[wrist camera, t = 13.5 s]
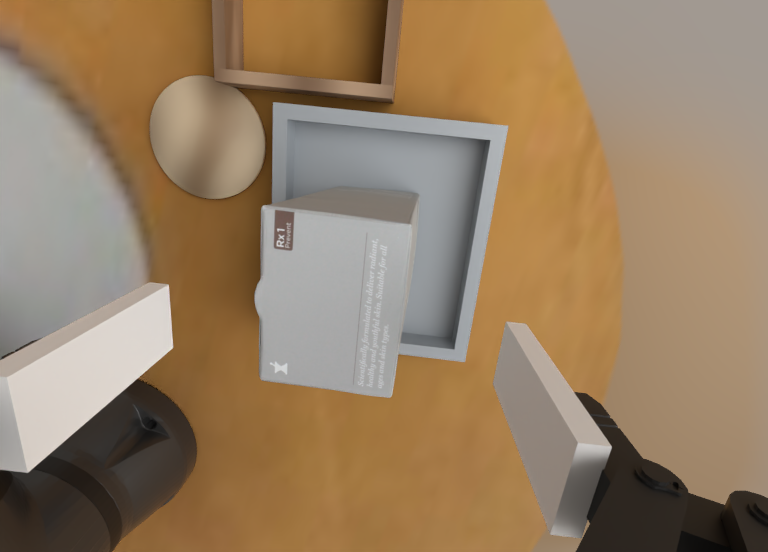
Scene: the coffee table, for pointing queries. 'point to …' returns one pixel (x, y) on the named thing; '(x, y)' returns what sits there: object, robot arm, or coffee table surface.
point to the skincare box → (336, 288)
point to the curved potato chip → (207, 137)
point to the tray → (408, 174)
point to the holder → (232, 74)
